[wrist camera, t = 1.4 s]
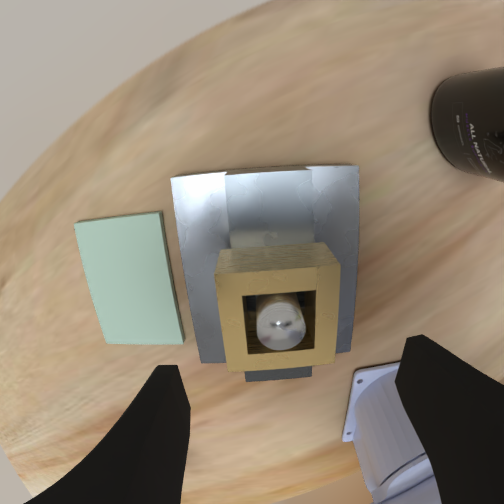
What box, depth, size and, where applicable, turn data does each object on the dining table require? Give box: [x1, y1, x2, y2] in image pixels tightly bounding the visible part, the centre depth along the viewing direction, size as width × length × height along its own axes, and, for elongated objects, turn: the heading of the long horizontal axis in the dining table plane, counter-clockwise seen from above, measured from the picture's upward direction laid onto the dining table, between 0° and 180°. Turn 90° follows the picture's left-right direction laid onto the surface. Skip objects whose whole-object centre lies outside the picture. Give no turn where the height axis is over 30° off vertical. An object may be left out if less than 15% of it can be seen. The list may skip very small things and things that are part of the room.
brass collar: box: [214, 242, 341, 372], centre depth 14 cm, size 5×5×3 cm
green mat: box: [74, 211, 185, 344], centre depth 19 cm, size 9×6×1 cm, turn 4°
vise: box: [171, 164, 359, 382], centre depth 16 cm, size 12×10×7 cm
